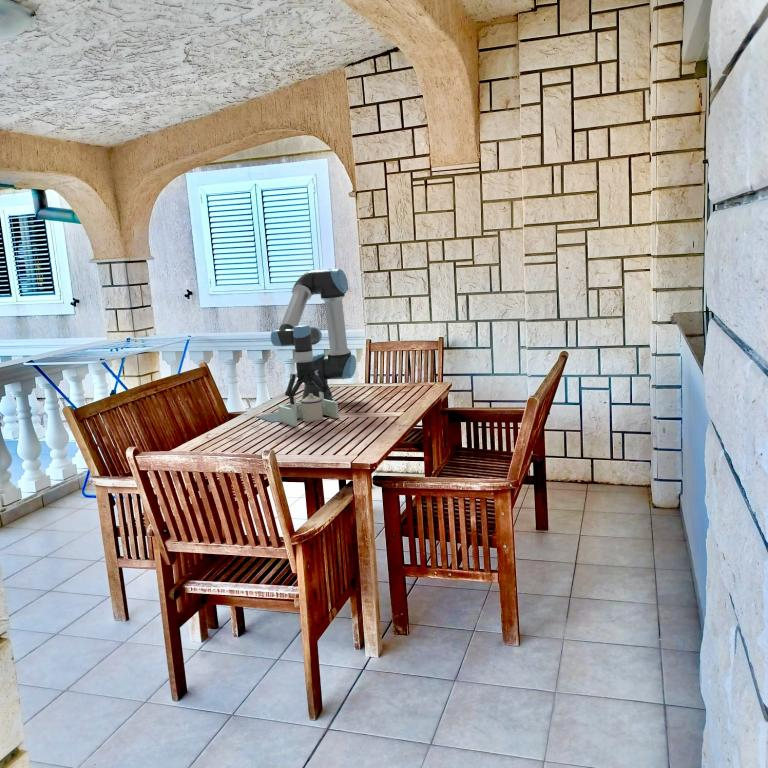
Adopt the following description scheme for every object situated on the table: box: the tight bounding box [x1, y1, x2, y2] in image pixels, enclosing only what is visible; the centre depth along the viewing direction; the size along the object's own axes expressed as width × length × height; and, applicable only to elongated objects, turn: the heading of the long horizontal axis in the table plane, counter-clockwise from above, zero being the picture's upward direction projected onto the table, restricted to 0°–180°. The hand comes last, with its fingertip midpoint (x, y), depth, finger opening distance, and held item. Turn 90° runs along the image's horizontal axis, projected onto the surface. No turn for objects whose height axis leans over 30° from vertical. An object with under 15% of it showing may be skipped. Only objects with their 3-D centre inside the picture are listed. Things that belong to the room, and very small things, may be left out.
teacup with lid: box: [296, 394, 324, 423], centre depth 323 cm, size 12×9×12 cm
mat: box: [255, 412, 280, 423], centre depth 337 cm, size 18×18×1 cm
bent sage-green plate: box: [277, 399, 340, 427], centre depth 324 cm, size 21×16×7 cm
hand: (308, 409), depth 323 cm, fingers open, 13 cm apart
